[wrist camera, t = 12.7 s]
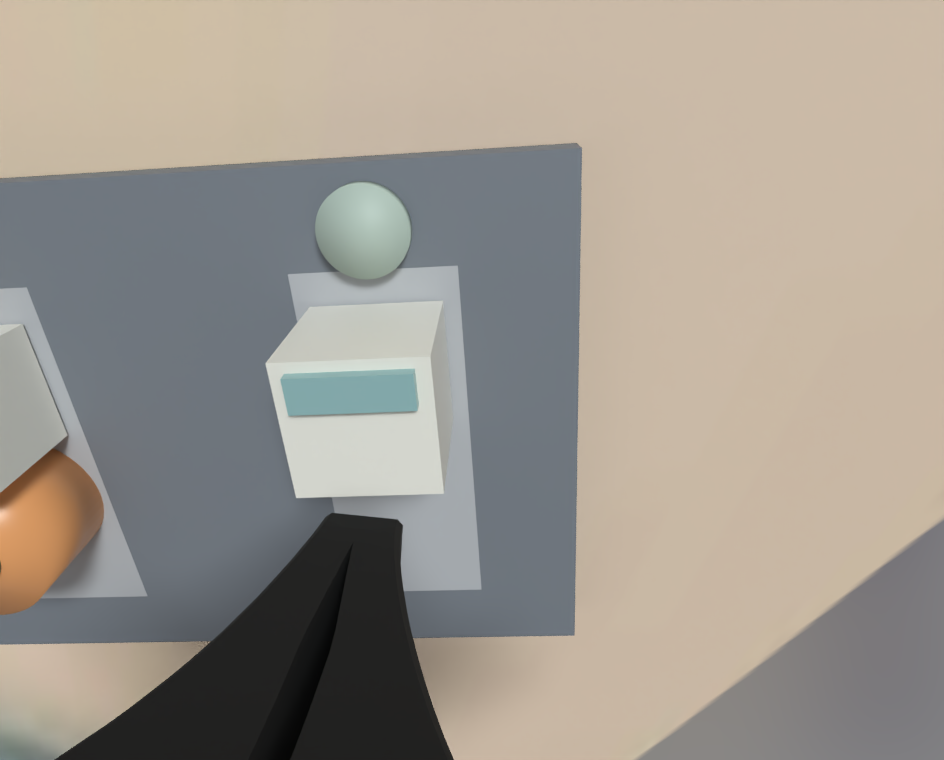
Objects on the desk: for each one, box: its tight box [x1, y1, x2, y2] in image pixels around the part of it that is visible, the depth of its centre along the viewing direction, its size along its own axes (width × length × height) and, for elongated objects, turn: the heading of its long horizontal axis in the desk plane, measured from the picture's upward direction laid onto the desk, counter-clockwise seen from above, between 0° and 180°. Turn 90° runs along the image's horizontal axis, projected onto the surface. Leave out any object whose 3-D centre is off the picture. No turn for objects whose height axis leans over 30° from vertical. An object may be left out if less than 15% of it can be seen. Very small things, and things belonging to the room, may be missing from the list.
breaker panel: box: [0, 143, 582, 644], centre depth 21 cm, size 18×24×2 cm
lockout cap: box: [0, 448, 104, 615], centre depth 21 cm, size 5×5×3 cm
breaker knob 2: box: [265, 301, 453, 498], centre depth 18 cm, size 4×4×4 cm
